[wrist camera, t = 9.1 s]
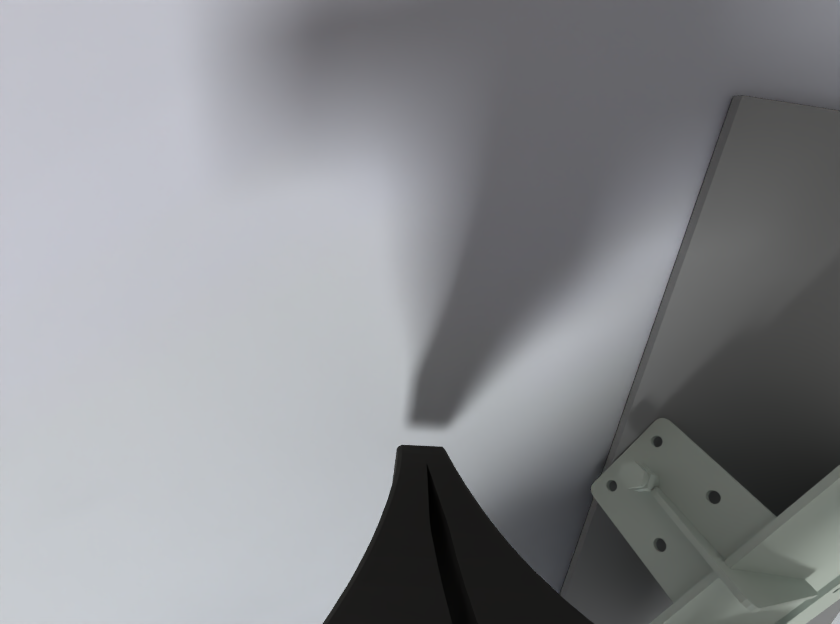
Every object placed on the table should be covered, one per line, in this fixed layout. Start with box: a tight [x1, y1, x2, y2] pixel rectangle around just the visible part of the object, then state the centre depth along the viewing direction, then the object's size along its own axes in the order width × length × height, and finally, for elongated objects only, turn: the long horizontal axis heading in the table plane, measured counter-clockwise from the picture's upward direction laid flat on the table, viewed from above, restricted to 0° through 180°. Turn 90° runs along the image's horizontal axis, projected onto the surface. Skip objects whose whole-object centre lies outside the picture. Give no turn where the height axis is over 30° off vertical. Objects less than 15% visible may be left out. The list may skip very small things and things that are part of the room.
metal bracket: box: [591, 418, 840, 624], centre depth 15 cm, size 14×6×15 cm
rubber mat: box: [560, 95, 840, 624], centre depth 16 cm, size 24×13×1 cm, turn 173°
